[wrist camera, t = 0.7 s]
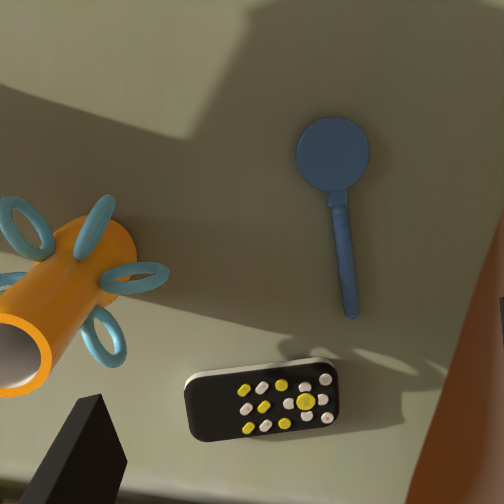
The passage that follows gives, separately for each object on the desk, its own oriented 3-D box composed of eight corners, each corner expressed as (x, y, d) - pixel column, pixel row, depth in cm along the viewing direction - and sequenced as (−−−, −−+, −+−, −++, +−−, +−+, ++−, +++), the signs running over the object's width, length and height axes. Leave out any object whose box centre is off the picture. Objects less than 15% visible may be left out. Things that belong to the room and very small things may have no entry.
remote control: (182, 370, 36) (180, 384, 34) (333, 352, 37) (339, 364, 35) (192, 432, 38) (191, 449, 36) (335, 413, 38) (342, 429, 37)
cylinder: (61, 144, 30) (-81, 166, 16) (195, 213, 32) (177, 287, 18) (-1, 290, 33) (-170, 421, 19) (127, 345, 35) (64, 500, 21)
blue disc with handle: (290, 125, 31) (293, 125, 30) (361, 111, 31) (366, 110, 30) (320, 321, 36) (323, 328, 35) (381, 309, 36) (387, 315, 35)
